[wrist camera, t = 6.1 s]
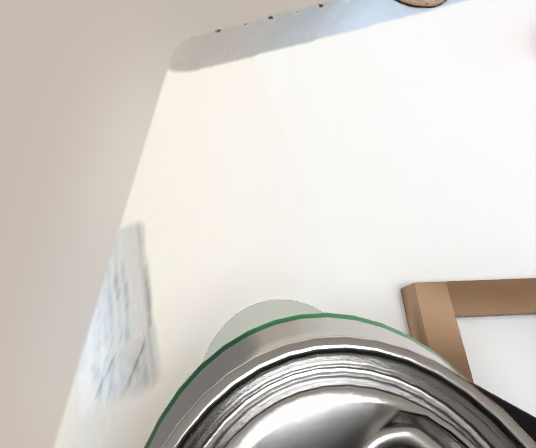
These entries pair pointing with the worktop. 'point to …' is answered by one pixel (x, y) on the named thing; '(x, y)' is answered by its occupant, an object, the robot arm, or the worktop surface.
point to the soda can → (331, 393)
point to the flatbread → (423, 2)
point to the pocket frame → (462, 311)
